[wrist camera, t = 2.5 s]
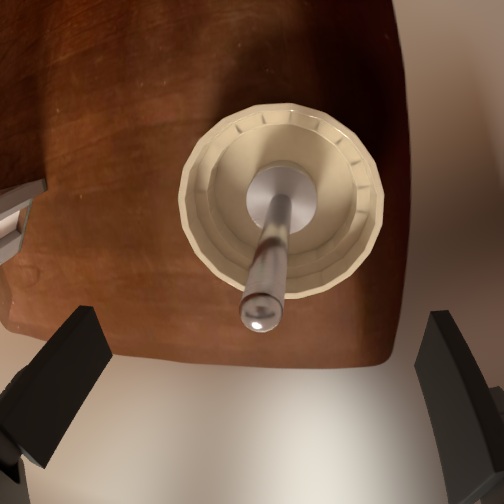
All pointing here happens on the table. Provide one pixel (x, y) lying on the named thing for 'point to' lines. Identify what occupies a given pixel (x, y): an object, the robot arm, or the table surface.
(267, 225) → the rod with disc base
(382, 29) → the table surface
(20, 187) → the cabinet
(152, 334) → the table surface
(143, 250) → the table surface
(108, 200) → the table surface
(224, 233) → the mixing bowl
